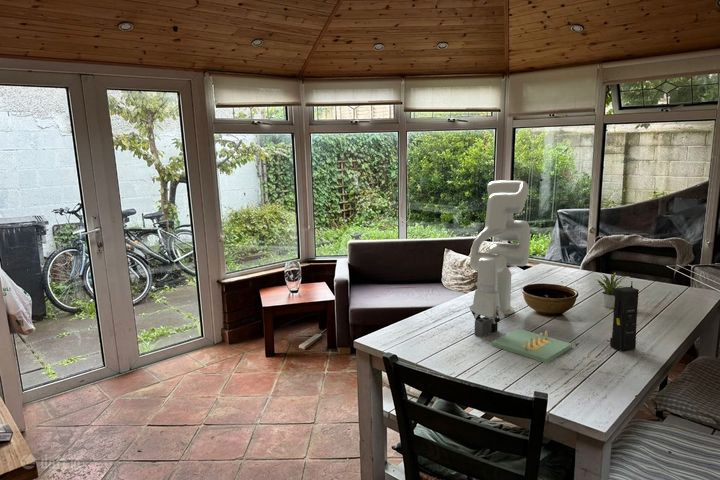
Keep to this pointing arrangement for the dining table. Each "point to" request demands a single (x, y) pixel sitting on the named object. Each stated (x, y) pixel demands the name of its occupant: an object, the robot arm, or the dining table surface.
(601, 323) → the dining table surface
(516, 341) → the header board
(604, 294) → the house plant
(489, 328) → the block
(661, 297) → the dining table surface
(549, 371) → the dining table surface
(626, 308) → the portable radio
